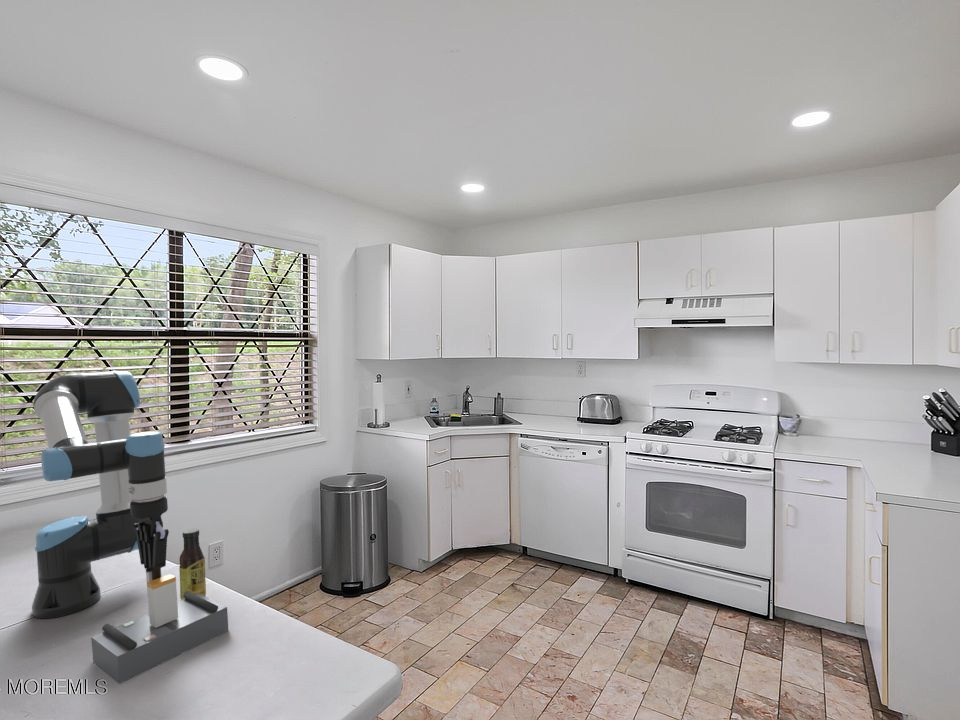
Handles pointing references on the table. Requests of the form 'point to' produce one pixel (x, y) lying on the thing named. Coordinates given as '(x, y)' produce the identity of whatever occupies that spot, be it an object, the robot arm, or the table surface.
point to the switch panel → (157, 639)
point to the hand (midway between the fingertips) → (155, 595)
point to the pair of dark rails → (132, 644)
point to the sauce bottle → (192, 565)
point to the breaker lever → (162, 600)
